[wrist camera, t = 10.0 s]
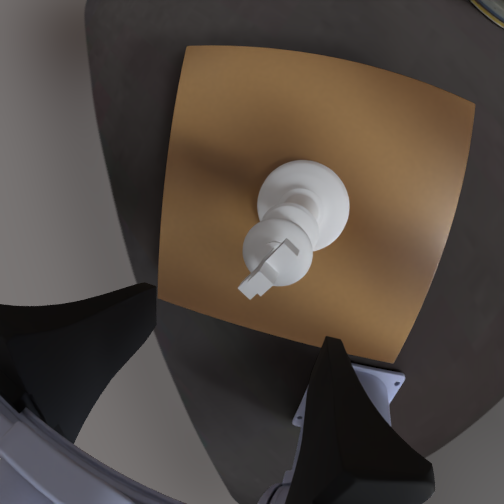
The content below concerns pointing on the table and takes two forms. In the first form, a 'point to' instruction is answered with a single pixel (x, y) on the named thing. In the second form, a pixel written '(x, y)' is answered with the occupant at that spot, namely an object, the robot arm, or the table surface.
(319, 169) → the chess piece
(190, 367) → the table surface
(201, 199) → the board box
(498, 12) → the apothecary jar
